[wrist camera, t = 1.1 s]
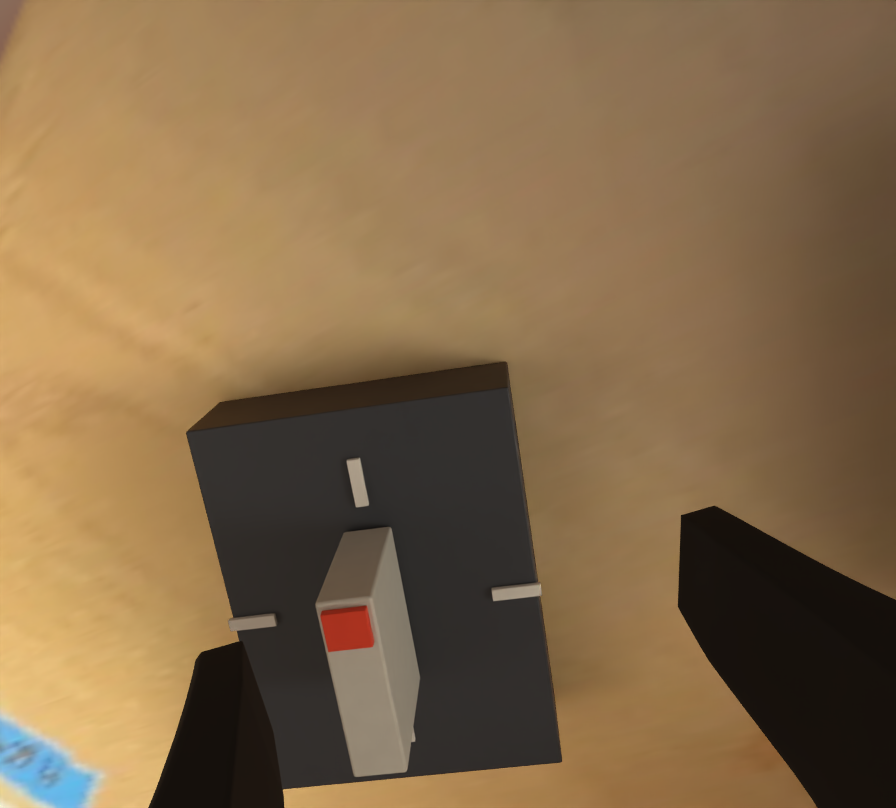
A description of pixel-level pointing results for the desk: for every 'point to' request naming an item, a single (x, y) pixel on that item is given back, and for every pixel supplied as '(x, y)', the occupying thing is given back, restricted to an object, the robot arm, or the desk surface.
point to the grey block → (370, 651)
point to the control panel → (418, 552)
